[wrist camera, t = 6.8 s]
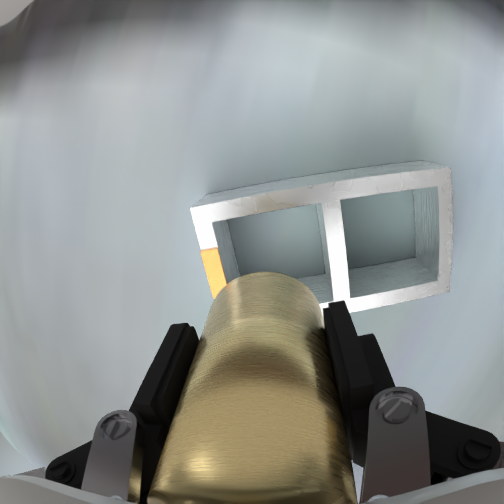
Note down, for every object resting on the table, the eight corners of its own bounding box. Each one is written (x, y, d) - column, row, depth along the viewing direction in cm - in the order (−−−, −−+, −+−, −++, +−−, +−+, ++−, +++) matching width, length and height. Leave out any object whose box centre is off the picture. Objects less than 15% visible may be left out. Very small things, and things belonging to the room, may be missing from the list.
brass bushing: (315, 262, 11) (367, 473, 4) (326, 356, 13) (353, 539, 5) (196, 281, 12) (106, 473, 4) (225, 369, 13) (189, 542, 6)
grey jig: (422, 160, 18) (452, 167, 15) (426, 267, 21) (451, 292, 17) (206, 194, 21) (188, 209, 17) (232, 300, 23) (223, 332, 19)
